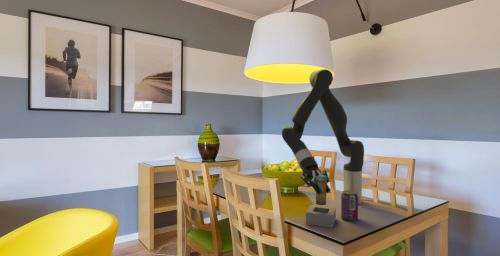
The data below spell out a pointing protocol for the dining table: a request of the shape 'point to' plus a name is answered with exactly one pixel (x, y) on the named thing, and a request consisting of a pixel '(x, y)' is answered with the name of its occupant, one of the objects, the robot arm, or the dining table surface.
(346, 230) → the dining table surface
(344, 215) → the beverage can
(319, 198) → the green capped wooden peg
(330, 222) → the socket block
